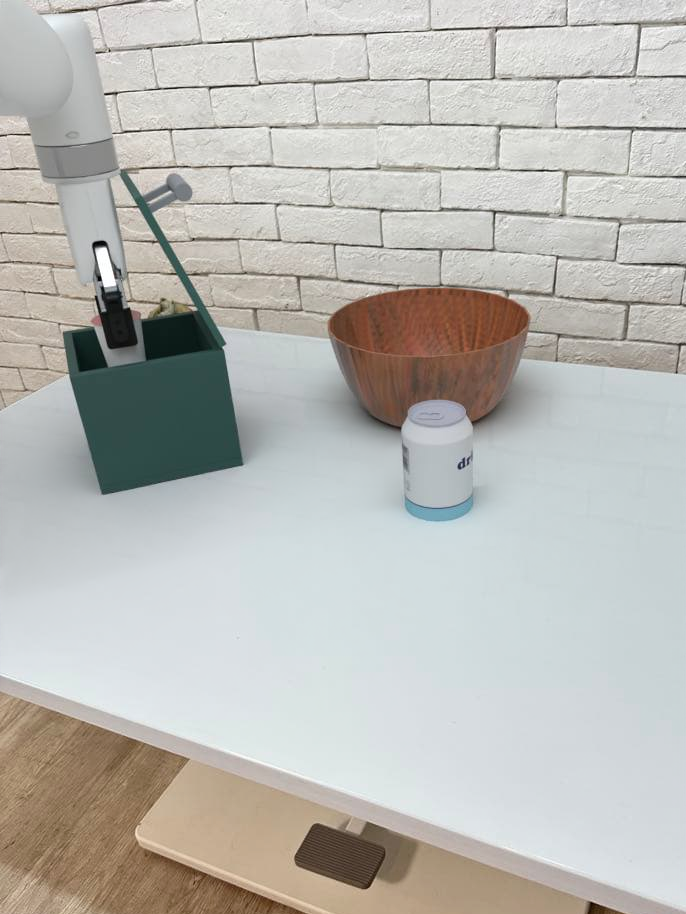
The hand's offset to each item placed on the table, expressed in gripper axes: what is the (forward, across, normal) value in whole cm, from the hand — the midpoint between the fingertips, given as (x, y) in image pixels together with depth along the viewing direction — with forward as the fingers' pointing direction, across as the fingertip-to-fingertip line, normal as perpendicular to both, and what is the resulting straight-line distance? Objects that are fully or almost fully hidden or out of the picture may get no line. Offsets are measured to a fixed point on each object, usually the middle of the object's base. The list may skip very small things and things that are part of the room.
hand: (119, 335), depth 94 cm
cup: (+7, 0, 0) cm, 7 cm away
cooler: (+15, 0, +2) cm, 15 cm away
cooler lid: (-7, 0, +7) cm, 10 cm away
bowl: (+15, +2, +36) cm, 39 cm away
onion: (+15, -36, +9) cm, 40 cm away
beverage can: (+15, +28, +26) cm, 41 cm away
